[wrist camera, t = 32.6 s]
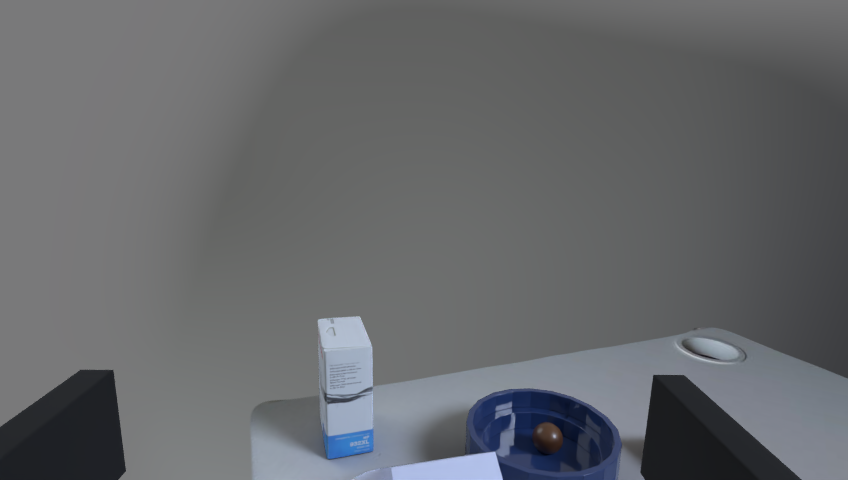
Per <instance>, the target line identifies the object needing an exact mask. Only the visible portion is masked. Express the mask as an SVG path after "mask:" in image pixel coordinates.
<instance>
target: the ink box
mask: <svg viewBox="0 0 848 480" xmlns="http://www.w3.org/2000/svg"><path fill="white" fill-rule="evenodd" d="M318 348H319V350H318V352H319V391H320V392H319V393H320V419H321V425H322V431H323V438H324V444H325V451H326V456H327V459H333V458H339V457H345V456H350V455H355V454H361V453H366V452H372V451H373V378H372V376H373V375H372V345H371V343H370V340H369V338H368V335H367V333H366V330H365V328H364V326H363V323H362V321H361V319H360V317H359V316H358V317H344V318H325V319H319V320H318Z"/></svg>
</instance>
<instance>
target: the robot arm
mask: <svg viewBox="0 0 848 480" xmlns="http://www.w3.org/2000/svg"><path fill="white" fill-rule="evenodd" d="M125 471H126V468H125V461H124V453H123V445H122V437H121V428H120V420H119V412H118V404H117V396H116V389H115V380H114V372H113V370H80V371H78V372H77V373H76V374H74V375H73V376H71V377H70V378H69V379H67V380H66V381H64V382H63V383H62V384H60V385H59V386H57V387H56V388H54V389H53V390H52V391H50V392H49V393H47V394H46V395H45V396H43V397H42V398H40V399H39V400H38V401H36V402H35V403H33V404H32V405H31V406H29V407H28V408H26V409H25V410H24V411H22V412H21V413H19V414H18V415H17V416H15V417H14V418H12V419H11V420H9V421H8V422H7V423H5V424H4V425H3V426H1V427H0V480H118V479H119V478H120V477H121V476H122V475H123V474H124V472H125ZM641 474H642V476H643V477H644V479H645V480H801V479H800V478H799V477H798V476H797V475H796V474H795V473H793V472H792V471H791V470H790V469H789V468H788V467H787V466H786V465H784V464H783V463H782V462H781V461H780V460H779V459H778V458H777V457H775V456H774V455H773V454H772V453H771V452H770V451H769V450H768V449H766V448H765V447H764V446H763V445H762V444H761V443H760V442H759V441H757V440H756V439H755V438H754V437H753V436H752V435H751V434H750V433H748V432H747V431H746V430H745V429H744V428H743V427H742V426H741V425H739V424H738V423H737V422H736V421H735V420H734V419H733V418H732V417H730V416H729V415H728V414H727V413H726V412H725V411H724V410H723V409H721V408H720V407H719V406H718V405H717V404H716V403H715V402H714V401H712V400H711V399H710V398H709V397H708V396H707V395H706V394H705V393H703V392H702V391H701V390H700V389H699V388H698V387H697V386H696V385H694V384H693V383H692V382H691V381H690V380H689V379H688V378H687V377H685V376H684V375H653V383H652V390H651V398H650V405H649V413H648V420H647V428H646V435H645V443H644V450H643V458H642V465H641Z"/></svg>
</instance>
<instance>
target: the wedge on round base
mask: <svg viewBox="0 0 848 480" xmlns="http://www.w3.org/2000/svg"><path fill="white" fill-rule="evenodd" d="M352 480H503V478H502V475H501V471H500V467H499V464H498V460H497V456H496V453H495V452H488V453H479V454H471V455H464V456H458V457H451V458H445V459H438V460H432V461H425V462H419V463H412V464H406V465H399V466H393V467H387V468H380V469H375V470H372V471H368V472H366V473H363V474H361V475H359V476H357V477H355V478H354V479H352Z"/></svg>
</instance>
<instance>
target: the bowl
mask: <svg viewBox="0 0 848 480" xmlns="http://www.w3.org/2000/svg"><path fill="white" fill-rule="evenodd" d="M543 422H549V423H552V424H554V425H556V426H557V427H558V428H559V429H560V431H561V433H562V435H563V444H562V447H561V448H560V450H559V451H558V452H556V453H554V454H544V453H542V452H540V451H539V450H538V449H537V448H536V447H535V445H534V443H533V440H532V434H533V430H534V429H535V427H536V426H537V425H538V424H540V423H543ZM621 449H622V443H621V439H620V436H619V432H618V430H617V428H616V427H615V426H614V425H613V423H612V422H611V421H610V420H609V419H608V417H606V416H605V415H604V414H602V413H601V412H599V411H598V410H597V409H595V408H594V407H592V406H591V405H589V404H587V403H584V402H582V401H580V400H578V399H576V398H573V397H571V396H567V395H564V394H560V393H557V392H553V391H547V390H539V389H508V390H504V391H499V392H495V393H492V394H490V395H488V396H486V397H484V398H482V399H480V400H478V401H477V403H476V404H475V405H474V406H473V407H472V408H471V409H470V410H469V414H468V418H467V422H466V447H465V455H471V454H479V453H488V452H495V453H496V456H497V460H498V464H499V467H500V471H501V475H502V478H503V480H618V475H619V466H620V457H621Z"/></svg>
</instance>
